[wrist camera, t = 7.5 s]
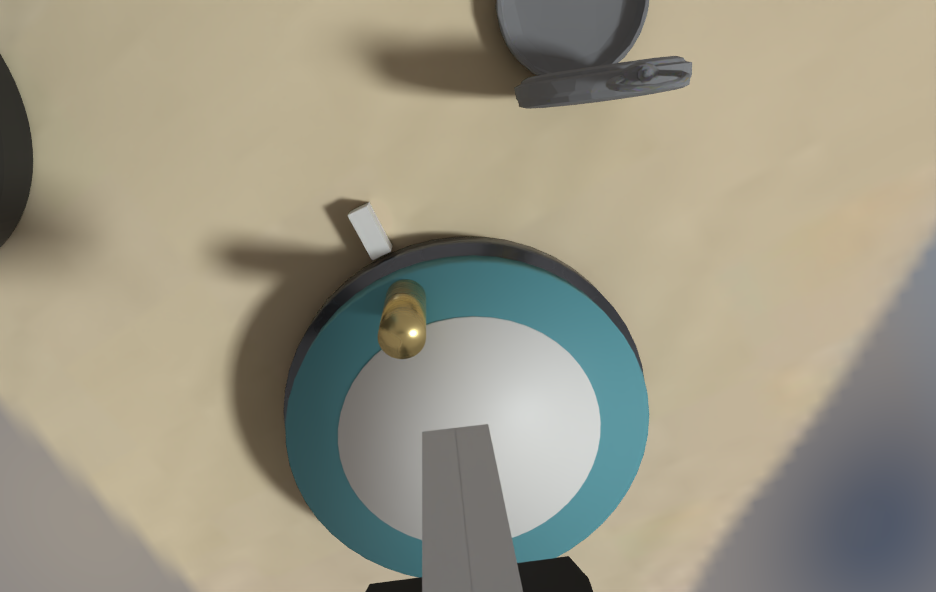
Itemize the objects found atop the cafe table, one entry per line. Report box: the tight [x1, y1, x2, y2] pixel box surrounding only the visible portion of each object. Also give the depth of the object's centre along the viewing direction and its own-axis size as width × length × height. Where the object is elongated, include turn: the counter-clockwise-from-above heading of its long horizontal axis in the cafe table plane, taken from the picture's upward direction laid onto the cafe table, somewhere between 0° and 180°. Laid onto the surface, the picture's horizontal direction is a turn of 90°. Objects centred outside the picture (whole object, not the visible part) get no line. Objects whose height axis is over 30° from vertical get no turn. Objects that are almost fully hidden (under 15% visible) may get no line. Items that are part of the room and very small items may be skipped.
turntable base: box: [284, 202, 644, 431], centre depth 30 cm, size 22×19×2 cm
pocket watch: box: [496, 0, 692, 108], centre depth 20 cm, size 8×8×10 cm
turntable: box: [285, 255, 649, 578], centre depth 26 cm, size 18×18×6 cm
